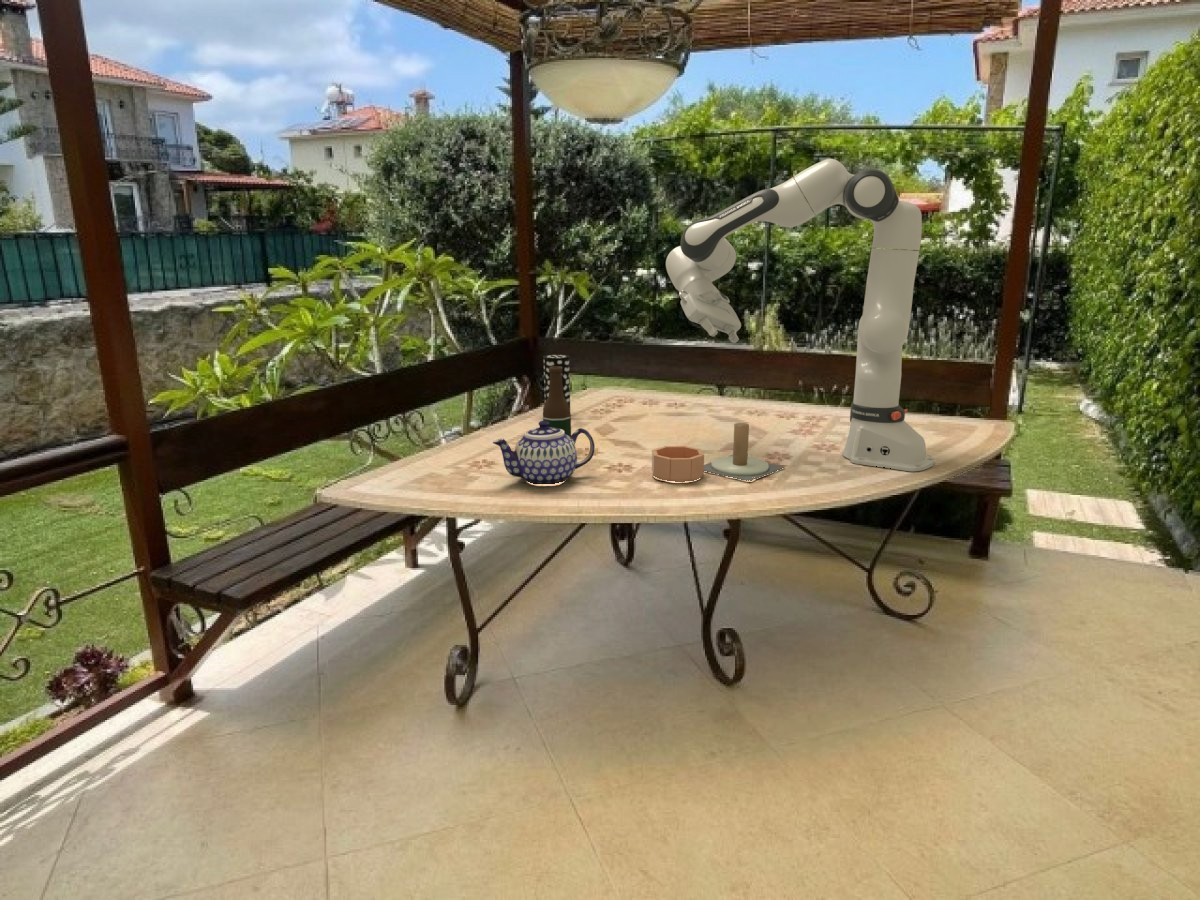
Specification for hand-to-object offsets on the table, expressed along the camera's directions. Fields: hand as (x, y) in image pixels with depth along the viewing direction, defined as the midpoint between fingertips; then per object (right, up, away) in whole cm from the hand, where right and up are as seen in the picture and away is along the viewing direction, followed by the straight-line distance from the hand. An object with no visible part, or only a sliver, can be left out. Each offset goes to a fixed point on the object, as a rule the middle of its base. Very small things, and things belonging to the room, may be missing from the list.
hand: (725, 338), depth 189 cm
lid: (+3, -33, -3) cm, 33 cm away
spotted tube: (-46, -18, +56) cm, 74 cm away
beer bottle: (-43, -30, +11) cm, 54 cm away
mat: (+3, -33, -3) cm, 33 cm away
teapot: (-45, -36, -10) cm, 58 cm away
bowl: (-13, -35, -8) cm, 38 cm away
